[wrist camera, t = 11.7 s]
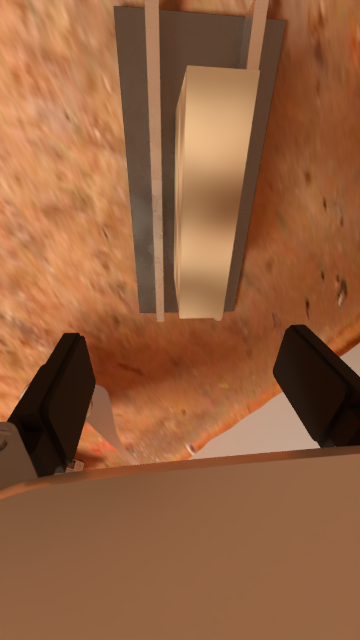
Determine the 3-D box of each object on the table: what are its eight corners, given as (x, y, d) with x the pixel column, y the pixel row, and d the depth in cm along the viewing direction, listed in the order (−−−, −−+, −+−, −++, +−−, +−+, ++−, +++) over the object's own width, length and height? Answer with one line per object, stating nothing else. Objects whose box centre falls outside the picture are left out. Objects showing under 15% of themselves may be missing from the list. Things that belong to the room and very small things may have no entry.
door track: (231, 307, 35) (238, 320, 32) (140, 309, 34) (138, 322, 31) (280, 27, 19) (302, 0, 16) (115, 13, 18) (107, -18, 15)
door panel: (203, 273, 30) (222, 317, 21) (173, 273, 30) (179, 318, 21) (216, 114, 21) (260, 70, 12) (175, 112, 21) (187, 65, 12)
